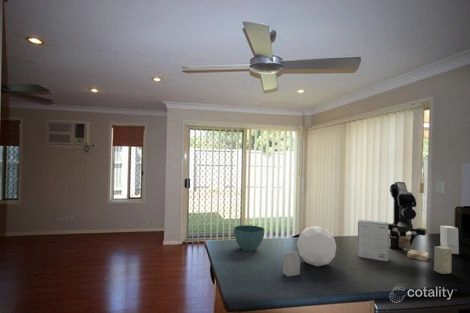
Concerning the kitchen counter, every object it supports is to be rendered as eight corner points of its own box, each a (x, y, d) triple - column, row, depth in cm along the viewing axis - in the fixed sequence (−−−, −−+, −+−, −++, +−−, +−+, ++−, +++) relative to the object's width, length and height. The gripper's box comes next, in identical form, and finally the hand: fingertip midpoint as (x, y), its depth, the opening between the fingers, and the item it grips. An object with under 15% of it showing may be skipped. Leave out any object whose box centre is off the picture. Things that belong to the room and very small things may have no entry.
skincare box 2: (442, 274, 135) (442, 248, 135) (433, 270, 139) (433, 246, 140) (451, 273, 137) (452, 248, 137) (442, 269, 141) (443, 245, 141)
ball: (304, 276, 144) (284, 240, 152) (333, 258, 151) (312, 225, 159) (321, 270, 128) (297, 230, 136) (352, 250, 135) (327, 214, 143)
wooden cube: (398, 246, 152) (398, 237, 152) (400, 245, 156) (401, 236, 156) (409, 248, 149) (409, 239, 149) (411, 247, 153) (411, 237, 153)
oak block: (407, 257, 160) (407, 252, 160) (410, 254, 166) (410, 249, 167) (426, 261, 154) (426, 256, 154) (428, 258, 161) (428, 252, 161)
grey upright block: (299, 274, 129) (300, 252, 129) (287, 276, 126) (288, 254, 126) (294, 271, 132) (295, 250, 132) (282, 273, 129) (283, 251, 130)
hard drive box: (387, 257, 157) (388, 222, 158) (388, 262, 150) (389, 224, 151) (357, 253, 164) (358, 219, 165) (357, 256, 157) (357, 221, 158)
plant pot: (228, 251, 159) (228, 229, 159) (239, 243, 176) (240, 223, 176) (258, 256, 152) (259, 233, 153) (267, 247, 169) (268, 227, 169)
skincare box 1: (459, 254, 168) (459, 228, 169) (446, 253, 170) (446, 227, 170) (451, 250, 176) (451, 225, 177) (439, 249, 178) (439, 224, 178)
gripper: (382, 215, 153) (382, 244, 153) (423, 220, 141) (423, 252, 140) (388, 213, 161) (387, 240, 161) (426, 218, 149) (426, 247, 149)
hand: (405, 245), depth 153 cm, fingers closed on wooden cube, 5 cm apart
